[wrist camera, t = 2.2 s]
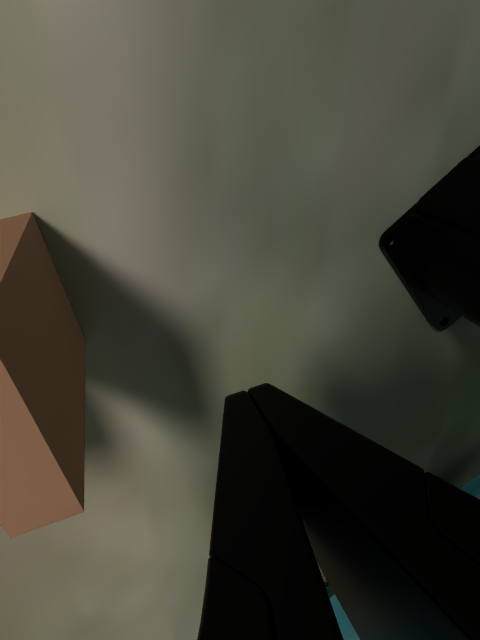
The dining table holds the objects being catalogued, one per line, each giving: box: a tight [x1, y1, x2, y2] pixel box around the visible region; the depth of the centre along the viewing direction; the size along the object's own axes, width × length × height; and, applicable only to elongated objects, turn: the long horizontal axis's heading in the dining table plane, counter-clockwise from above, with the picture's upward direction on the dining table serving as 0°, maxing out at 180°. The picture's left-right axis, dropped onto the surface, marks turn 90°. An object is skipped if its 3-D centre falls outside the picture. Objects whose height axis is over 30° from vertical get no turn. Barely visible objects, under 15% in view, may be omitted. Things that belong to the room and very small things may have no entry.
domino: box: [0, 212, 85, 538], centre depth 12 cm, size 2×5×8 cm, turn 10°
